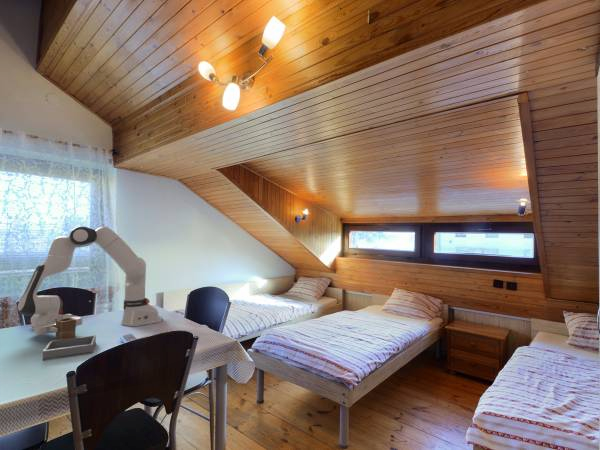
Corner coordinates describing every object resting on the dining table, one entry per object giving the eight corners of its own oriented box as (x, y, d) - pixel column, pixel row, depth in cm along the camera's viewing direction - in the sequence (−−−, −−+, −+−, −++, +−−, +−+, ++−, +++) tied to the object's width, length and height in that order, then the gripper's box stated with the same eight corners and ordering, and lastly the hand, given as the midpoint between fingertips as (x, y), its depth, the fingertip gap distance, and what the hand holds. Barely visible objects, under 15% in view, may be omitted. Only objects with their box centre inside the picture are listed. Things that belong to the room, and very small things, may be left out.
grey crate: (95, 343, 158) (95, 335, 158) (92, 353, 145) (92, 344, 145) (50, 349, 149) (50, 340, 149) (42, 360, 137) (42, 351, 137)
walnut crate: (55, 340, 159) (55, 320, 159) (69, 336, 164) (69, 317, 164) (61, 342, 156) (62, 322, 156) (75, 338, 161) (75, 319, 161)
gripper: (28, 322, 157) (42, 327, 151) (74, 313, 175) (88, 316, 169) (28, 335, 157) (42, 340, 151) (73, 324, 175) (87, 328, 169)
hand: (66, 327), depth 160 cm, fingers closed on walnut crate, 6 cm apart
